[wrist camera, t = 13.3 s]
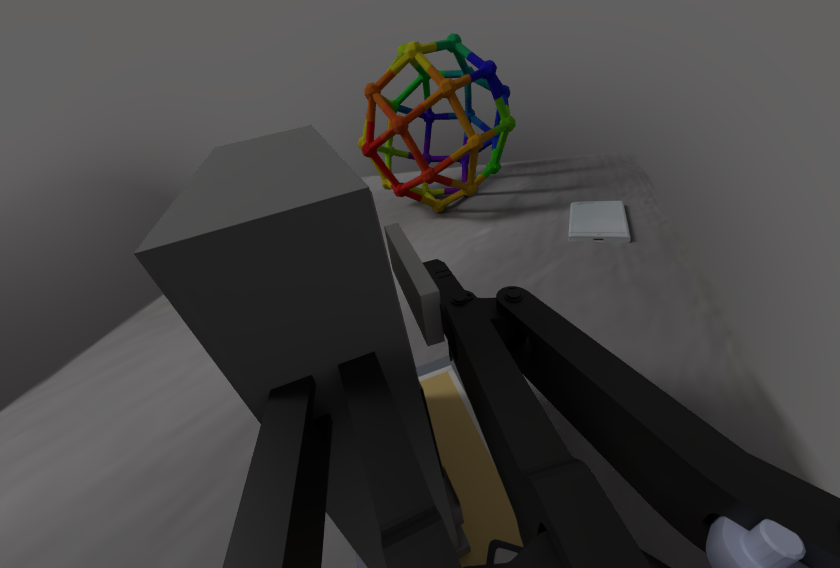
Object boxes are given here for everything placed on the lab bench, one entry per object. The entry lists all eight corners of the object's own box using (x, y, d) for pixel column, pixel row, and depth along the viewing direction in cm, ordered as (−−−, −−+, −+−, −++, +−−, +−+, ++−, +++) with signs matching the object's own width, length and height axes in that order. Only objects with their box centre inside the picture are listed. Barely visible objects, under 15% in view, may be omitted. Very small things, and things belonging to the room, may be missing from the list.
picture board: (376, 707, 18) (373, 706, 18) (338, 398, 35) (336, 395, 35) (602, 592, 20) (603, 589, 20) (462, 353, 37) (462, 350, 37)
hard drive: (570, 201, 60) (568, 235, 51) (623, 200, 57) (631, 235, 48) (570, 210, 61) (567, 244, 52) (622, 209, 58) (629, 246, 49)
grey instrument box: (474, 550, 22) (403, 178, 8) (387, 600, 21) (125, 258, 7) (406, 394, 33) (325, 121, 19) (346, 420, 32) (212, 147, 18)
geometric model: (290, 104, 58) (428, -3, 39) (381, 69, 77) (503, -15, 59) (377, 249, 71) (511, 220, 52) (436, 188, 90) (550, 151, 72)
